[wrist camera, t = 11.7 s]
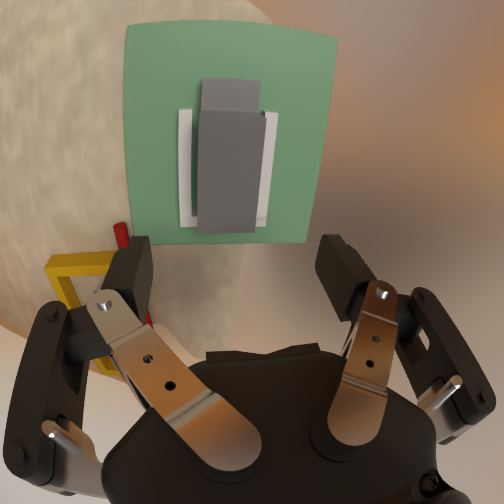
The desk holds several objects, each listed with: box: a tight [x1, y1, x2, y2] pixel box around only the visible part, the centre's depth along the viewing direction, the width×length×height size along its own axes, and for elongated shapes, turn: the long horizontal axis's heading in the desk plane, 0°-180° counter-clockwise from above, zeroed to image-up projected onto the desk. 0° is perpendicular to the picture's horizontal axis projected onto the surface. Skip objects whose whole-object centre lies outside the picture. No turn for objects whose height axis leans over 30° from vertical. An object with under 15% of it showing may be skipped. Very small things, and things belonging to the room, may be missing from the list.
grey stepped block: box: [197, 78, 267, 233], centre depth 23 cm, size 13×5×6 cm, turn 175°
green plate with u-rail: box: [124, 20, 338, 245], centre depth 25 cm, size 20×24×3 cm
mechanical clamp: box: [44, 222, 154, 375], centre depth 35 cm, size 18×6×30 cm
